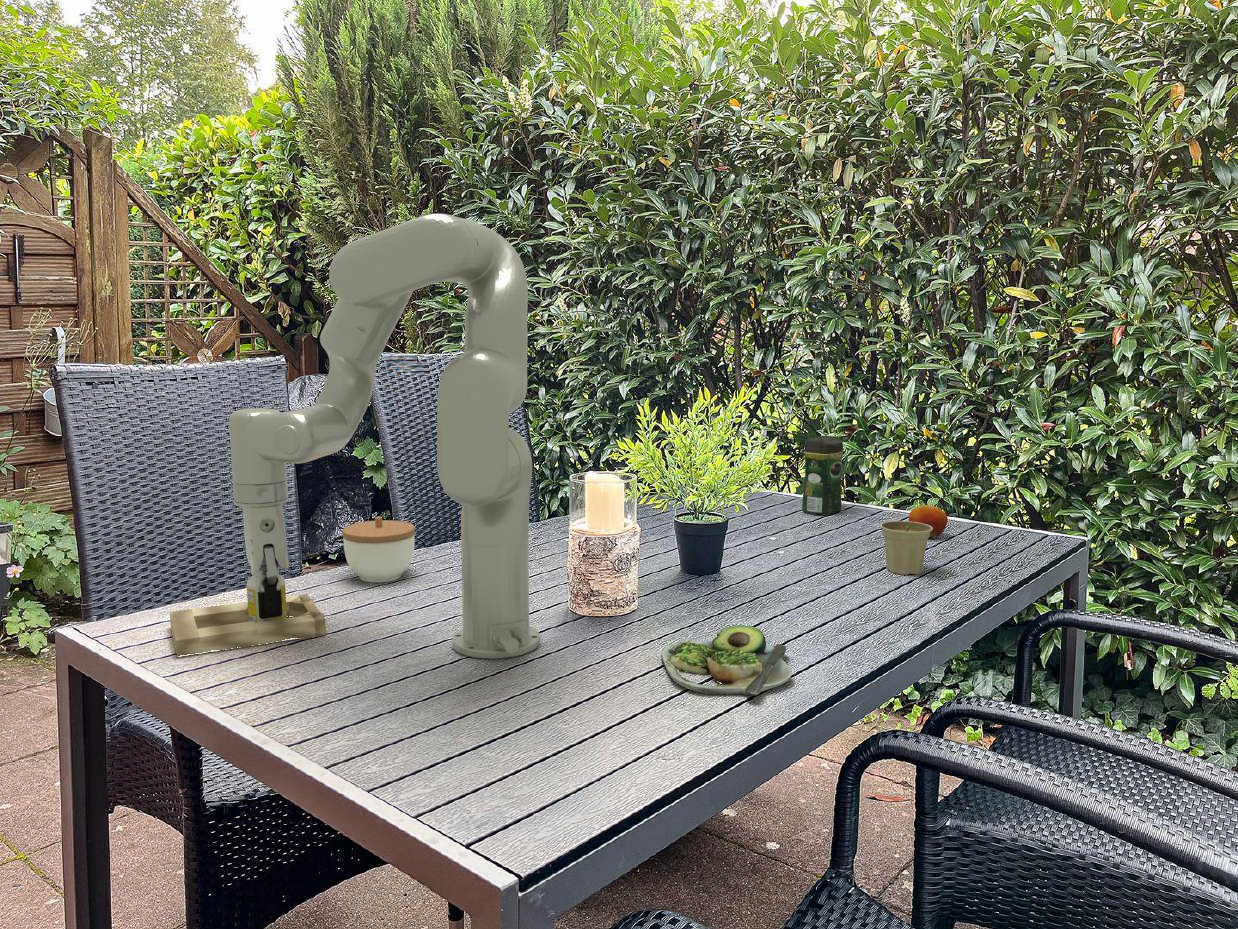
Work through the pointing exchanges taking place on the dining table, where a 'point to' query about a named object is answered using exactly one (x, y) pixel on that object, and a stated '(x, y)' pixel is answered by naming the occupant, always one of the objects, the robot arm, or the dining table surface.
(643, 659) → the dining table surface
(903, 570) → the flower pot
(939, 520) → the fruit
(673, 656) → the avocado toast plate
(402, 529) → the lidded bowl
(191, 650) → the beige flat rectangular frame
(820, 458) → the coffee jar
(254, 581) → the supplement bottle
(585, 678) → the dining table surface
